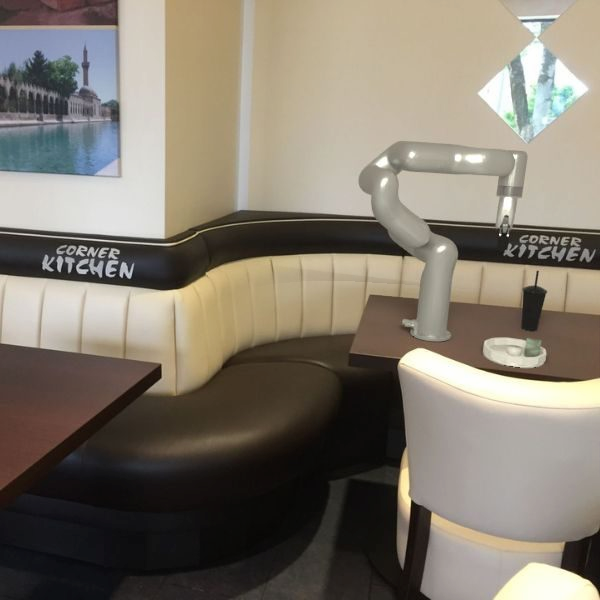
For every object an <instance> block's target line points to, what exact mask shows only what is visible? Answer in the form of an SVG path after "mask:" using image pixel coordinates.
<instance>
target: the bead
mask: <svg viewBox="0 0 600 600" xmlns="http://www.w3.org/2000/svg"><path fill="white" fill-rule="evenodd" d="M525 341H526V346H525V353H524V356H525V357H537V356H539V353H540V347H542V339H539V338H535V337H526V340H525Z"/></svg>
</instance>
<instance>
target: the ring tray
mask: <svg viewBox="0 0 600 600" xmlns="http://www.w3.org/2000/svg"><path fill="white" fill-rule="evenodd" d="M483 342H484V343H483V347H482V348H483V349H482V355H483V357H485V359H487V360H489V361H491V362H492V363H495V364H498V365H502V366H504V365H506V366H505V367H509V366H513V367H512V368H515V367H520V368H519V369H535V368H534V367H536V368H540V367H542V366H544V364H545V362H546V359H547V350H546V348H544V347H543V346H541V347H540V353H539V356H537V357H525V356H524V353H525V346H526V340H525V339H522V338H521V339H520V338H512V337H507V336H506V337H491V338H488V339H486V340H484V341H483Z"/></svg>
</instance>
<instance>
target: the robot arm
mask: <svg viewBox="0 0 600 600" xmlns="http://www.w3.org/2000/svg"><path fill="white" fill-rule="evenodd" d="M528 156H529V155H528V153H527V152H526V151H524V150H516V149H515V150H510V149H509V150H507V149H503V148H502V149H500V148H481V147H473V146H472V147H471V146H465V145H460V144H451V143H441V142H439V143H438V142H424V141H412V140H411V141H410V140H399V141H396V142H394V143H393V144H391V145H390V146H389V147H387V148H386V149H385V150H384V151H383V152H381V153H380V154H379V155H378V156H376V158H374V159H373V160H372V161H371V162H369V163H368V164H367V165H366V166H364V168H363V169H362V170H361V171H360V173H359V176H358V186H359V188H360V190H361V191H362V192H364V194H367V195H370V205H371V211H372V214H373V216H374V218H375V220H377V222H378V223H379V224H380V225H381V226H383V227H384V228H385V229H386V230H387V233H388V235H389V238H390V239H391V240H392V241H393V242H395V244H397V245H398V246H399V247H400V248H402V249H403V250H404V251H407V253H409V254H410V256H413V257H414V258H415V259H417V260H418V261H421V262H422V263H424V268H423V270H422V272H421V274H420V275H421V276H420V279H419V280H420V281H419V282H420V283H419V293H418V302H417V311H416V319H412V320H411V319H407V318H403V319H402V323H401V324H402V326H404V327H405V328H411V329H410V333H409V334H410V335H411V336H412V337H413V336H414V338H415V339H418V340H421V341H426V342H435V343H436V342H437V343H438V342H445V341H448V340H450V339H451V338H452V334H451V332H450V331H449V330H448V329H447V328H448V321H449V320H448V318H449V310H450V301H451V294H452V292H451V291H452V284H453V276H454V271H455V268H456V265H457V262H458V258H459V251H458V248H457V247H458V246H456V244H455V243H454V241H453V240H451V239H450V238H448V237H445V236H443V235H439V234H436V233H434V232H433V231H431V229H430V226H429V225H428V224H427V222H426V221H425V220H424V219H422V218H421V217H419V216H418V215H417V214H415V213H414V212H413V211H412V210H411V209H409V208H408V207H407V206H406V205H405V204H404V203H403V202H401V200H400V197H399V187H400V185H399V178H398V175H399V174H400V173H401V172H402V171H406V172H412V173H428V174H429V173H431V174H446V175H474V176H488V177H490V176H491V177H492V176H493V177H498V179H497V187H496V194H495V196H496V197H499V199H498V203H497V211H496V219H495V230H498V229H499V231H498V235H497V243H496V250H498V251H499V250H500V251H508V250H509V249H508V248H509V243H510V231H511V230H513V227H514V226H513V225H514V221H515V217H516V212H517V211H516V210H517V207H518V206H517V204H518V200H519V199H522V198H523V192H524V185H525V178H526V172H527V164H528Z"/></svg>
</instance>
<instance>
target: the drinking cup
mask: <svg viewBox="0 0 600 600" xmlns="http://www.w3.org/2000/svg"><path fill="white" fill-rule="evenodd" d="M539 272H540V271H539V270H536V273H535V280H534V285H527V286H523V287H522V312H521V329H522V330H524V329H525V330H524V331H527V330H529V331H528V332H535V330H536V331H537V330H538V326H539V324H540V318H541V315H542V311H543V307H544V303H545V298H546V295H547V293H548V290H547V289H545V288H544V287H542V286H538V285H537V284H538V279H539Z"/></svg>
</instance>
